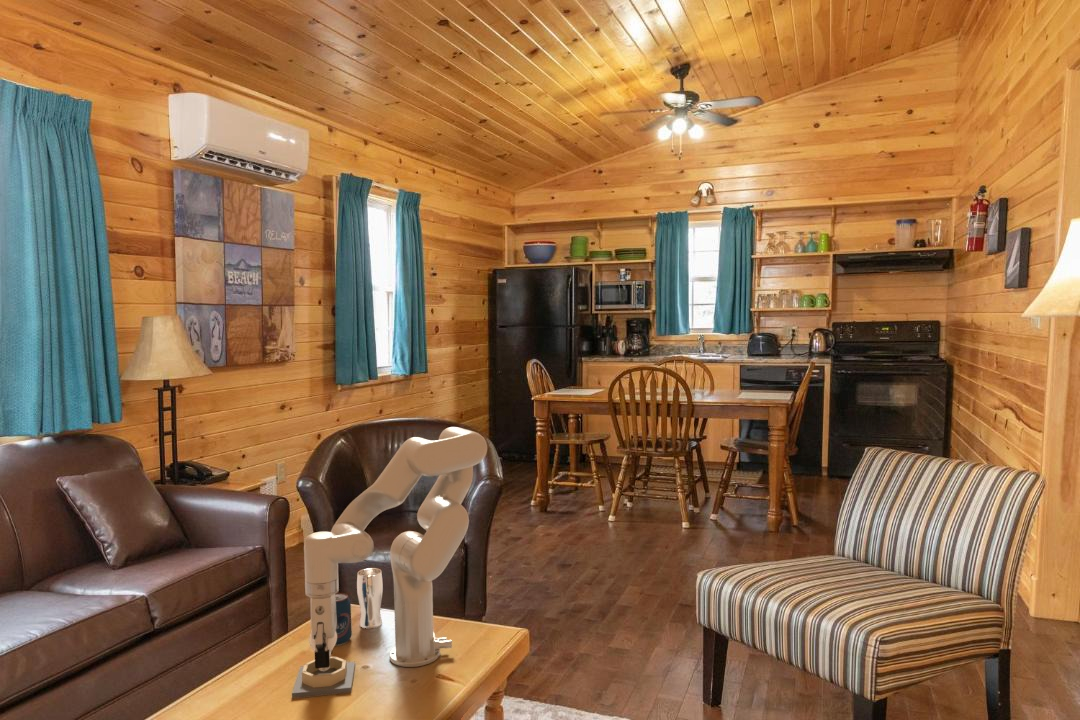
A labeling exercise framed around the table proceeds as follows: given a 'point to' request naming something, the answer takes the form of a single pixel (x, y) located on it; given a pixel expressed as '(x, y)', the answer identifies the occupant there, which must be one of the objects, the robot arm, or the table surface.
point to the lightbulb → (330, 646)
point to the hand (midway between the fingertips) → (324, 660)
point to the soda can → (343, 618)
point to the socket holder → (324, 679)
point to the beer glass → (370, 597)
